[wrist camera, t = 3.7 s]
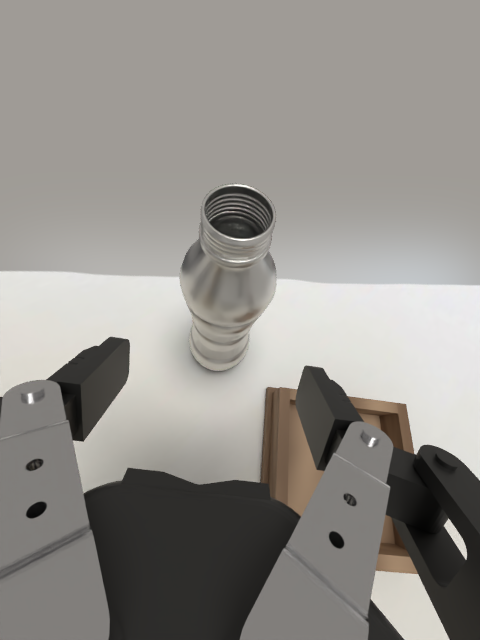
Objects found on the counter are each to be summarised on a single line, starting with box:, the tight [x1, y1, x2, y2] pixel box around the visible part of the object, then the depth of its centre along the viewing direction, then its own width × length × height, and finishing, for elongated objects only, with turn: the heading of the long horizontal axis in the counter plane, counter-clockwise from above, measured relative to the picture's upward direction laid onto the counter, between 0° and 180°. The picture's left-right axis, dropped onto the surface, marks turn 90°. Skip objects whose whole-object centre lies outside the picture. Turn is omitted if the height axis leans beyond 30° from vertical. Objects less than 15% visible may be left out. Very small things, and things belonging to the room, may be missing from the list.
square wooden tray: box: [261, 387, 418, 574], centre depth 24 cm, size 14×14×4 cm
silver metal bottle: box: [180, 184, 276, 371], centre depth 21 cm, size 6×7×20 cm
